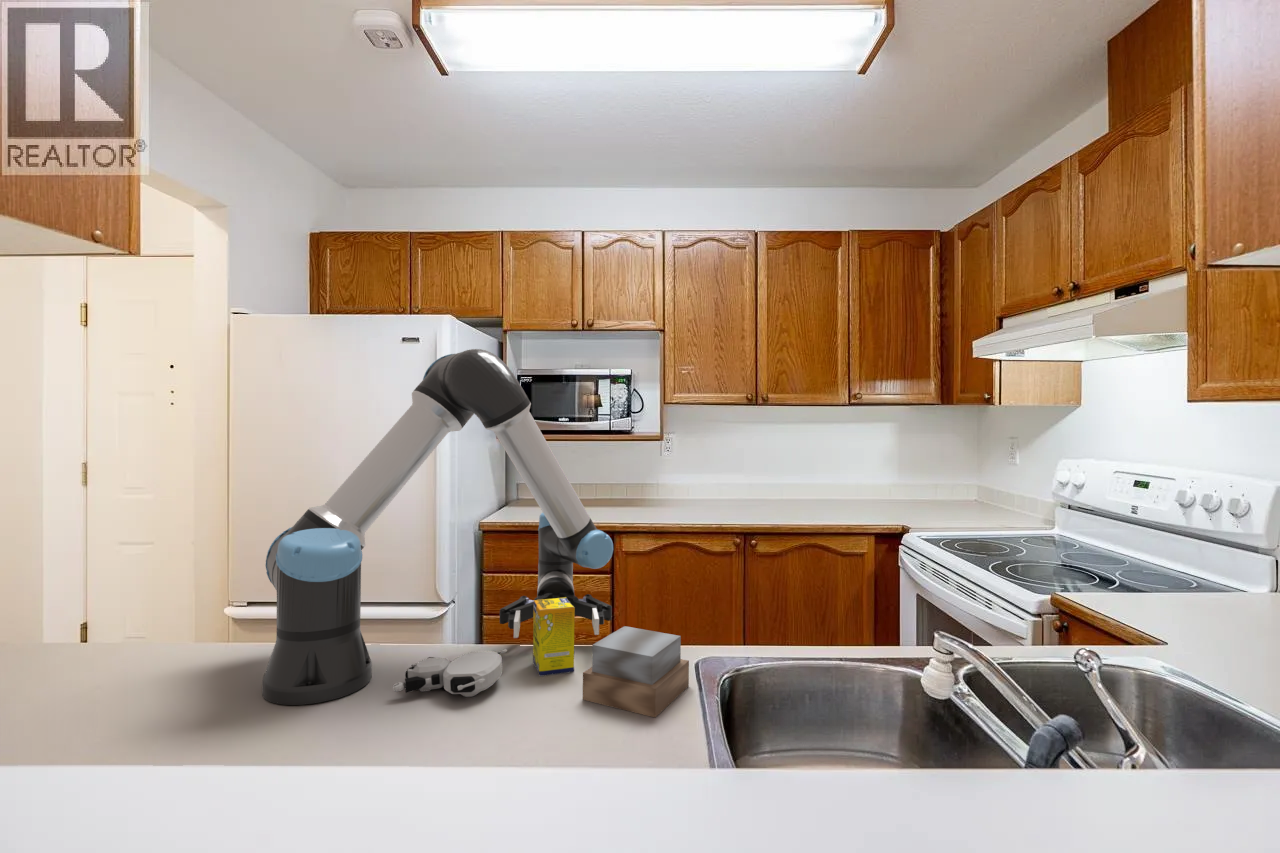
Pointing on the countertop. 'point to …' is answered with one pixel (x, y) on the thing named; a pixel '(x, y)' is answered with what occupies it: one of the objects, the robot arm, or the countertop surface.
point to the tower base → (636, 691)
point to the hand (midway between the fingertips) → (556, 628)
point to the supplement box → (553, 636)
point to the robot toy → (454, 673)
